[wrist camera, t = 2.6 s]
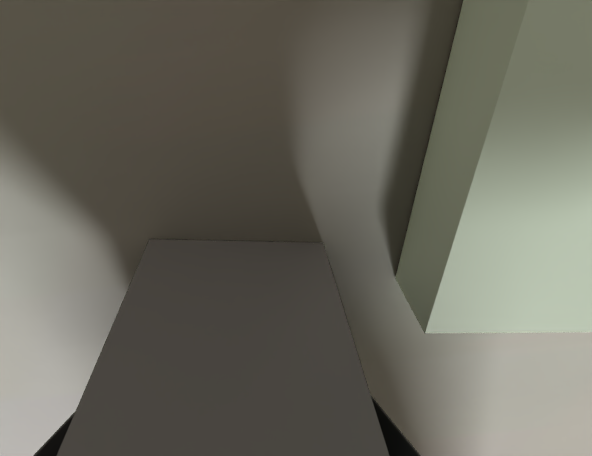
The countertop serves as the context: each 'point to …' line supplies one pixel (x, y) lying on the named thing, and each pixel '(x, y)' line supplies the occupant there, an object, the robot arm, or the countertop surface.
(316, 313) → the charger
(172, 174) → the countertop surface
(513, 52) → the outlet plate
